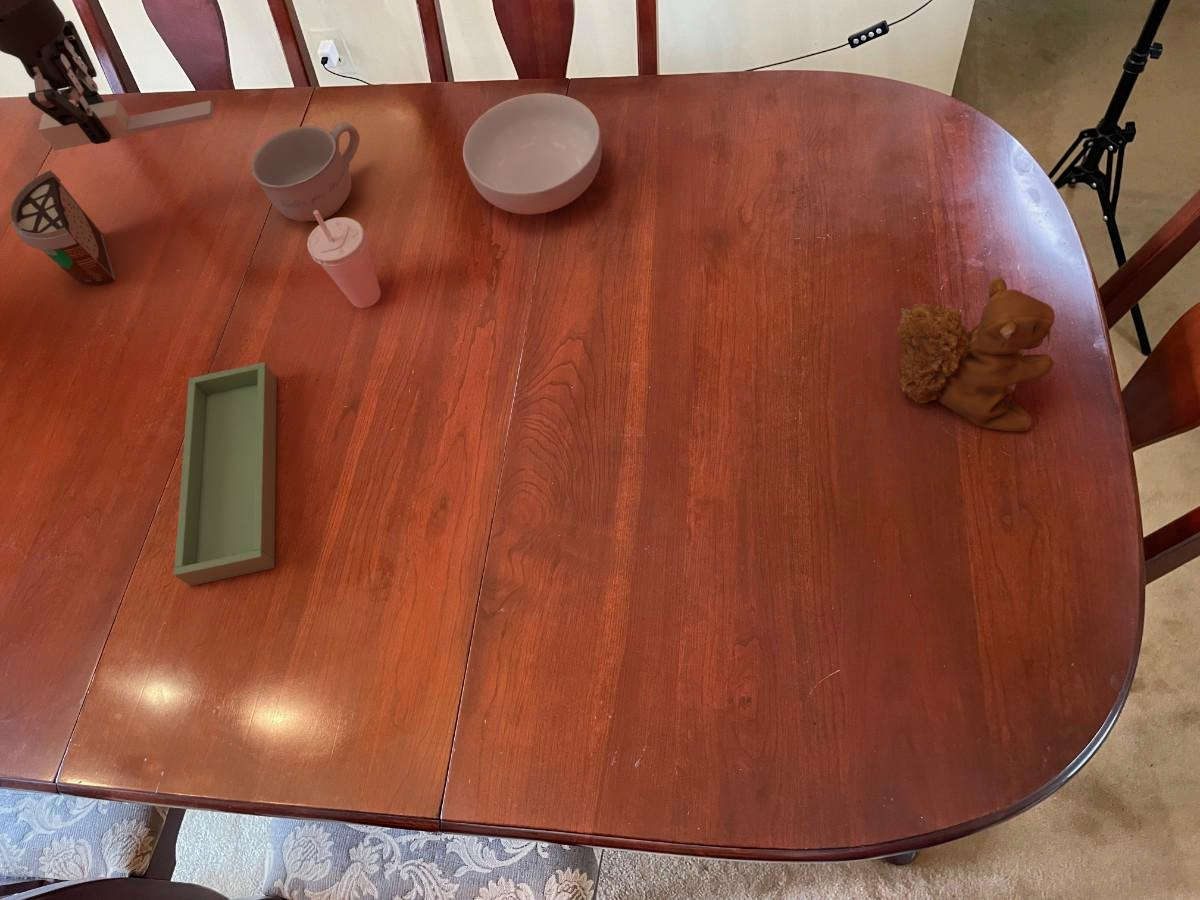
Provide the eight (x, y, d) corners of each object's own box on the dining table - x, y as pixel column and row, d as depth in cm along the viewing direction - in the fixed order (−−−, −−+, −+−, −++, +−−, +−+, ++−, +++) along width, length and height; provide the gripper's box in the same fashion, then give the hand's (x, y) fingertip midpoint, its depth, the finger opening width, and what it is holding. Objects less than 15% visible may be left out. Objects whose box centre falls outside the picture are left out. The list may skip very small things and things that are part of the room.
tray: (274, 568, 84) (260, 556, 81) (189, 586, 84) (173, 575, 81) (276, 376, 96) (264, 361, 93) (202, 392, 96) (188, 377, 93)
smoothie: (328, 303, 100) (276, 218, 88) (363, 267, 103) (318, 178, 91) (367, 324, 98) (320, 239, 86) (403, 287, 100) (361, 199, 88)
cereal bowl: (482, 141, 111) (470, 96, 105) (608, 134, 110) (603, 87, 103) (468, 238, 103) (453, 195, 97) (603, 232, 101) (597, 187, 95)
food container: (54, 245, 110) (-1, 187, 102) (100, 226, 111) (49, 167, 103) (69, 309, 104) (12, 252, 96) (117, 288, 105) (65, 230, 97)
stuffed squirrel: (1034, 435, 82) (1087, 356, 71) (883, 423, 85) (911, 344, 73) (1027, 352, 87) (1076, 265, 76) (884, 342, 89) (910, 256, 78)
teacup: (297, 247, 106) (268, 199, 99) (265, 198, 111) (235, 149, 104) (395, 195, 108) (373, 145, 101) (359, 149, 113) (337, 99, 106)
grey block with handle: (55, 150, 100) (38, 129, 97) (59, 134, 101) (42, 114, 99) (212, 119, 100) (199, 98, 97) (214, 104, 101) (201, 82, 98)
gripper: (-21, -41, 89) (83, 99, 104) (-52, 41, 82) (64, 178, 97) (49, -54, 89) (143, 87, 104) (24, 26, 82) (128, 166, 97)
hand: (104, 131), depth 100 cm, fingers closed on grey block with handle, 3 cm apart
